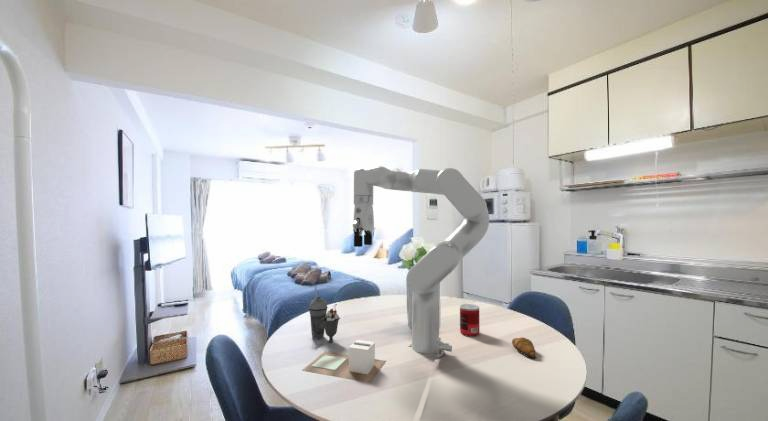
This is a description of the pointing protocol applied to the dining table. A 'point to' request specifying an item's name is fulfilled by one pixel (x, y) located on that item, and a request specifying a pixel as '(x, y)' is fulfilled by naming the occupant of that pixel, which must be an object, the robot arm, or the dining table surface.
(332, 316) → the sundae
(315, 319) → the beverage cup
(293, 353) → the dining table surface
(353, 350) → the white cardboard box
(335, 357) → the board
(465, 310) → the canned food
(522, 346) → the croissant
